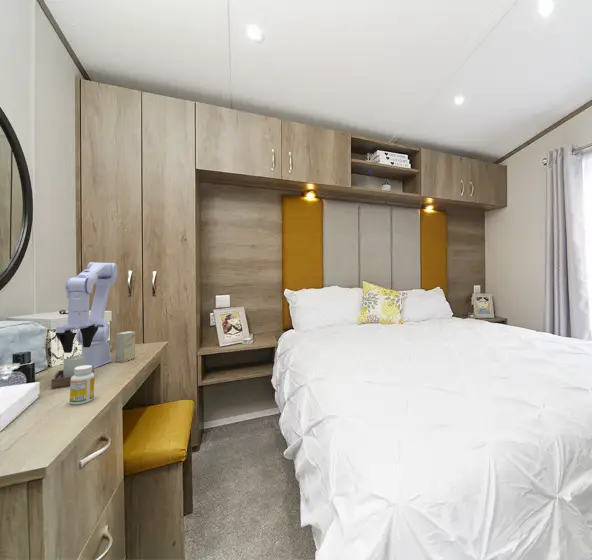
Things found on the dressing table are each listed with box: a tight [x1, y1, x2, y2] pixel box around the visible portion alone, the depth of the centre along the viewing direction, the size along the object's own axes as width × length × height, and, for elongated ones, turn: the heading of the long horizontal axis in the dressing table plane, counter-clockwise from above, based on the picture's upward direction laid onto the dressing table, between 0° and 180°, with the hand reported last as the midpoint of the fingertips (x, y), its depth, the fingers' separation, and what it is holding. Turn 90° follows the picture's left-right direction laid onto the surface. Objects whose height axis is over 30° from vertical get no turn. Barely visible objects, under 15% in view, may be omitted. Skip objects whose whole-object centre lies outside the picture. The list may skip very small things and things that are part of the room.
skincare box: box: [115, 330, 136, 363], centre depth 114 cm, size 6×4×12 cm
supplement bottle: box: [69, 365, 96, 406], centre depth 75 cm, size 5×5×10 cm
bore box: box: [51, 366, 95, 390], centre depth 89 cm, size 10×10×3 cm
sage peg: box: [63, 355, 85, 378], centre depth 89 cm, size 4×4×8 cm
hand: (77, 349), depth 93 cm, fingers open, 7 cm apart
